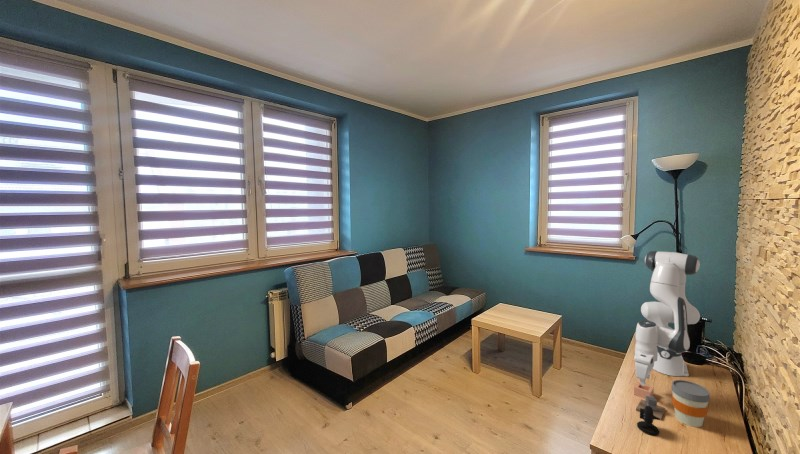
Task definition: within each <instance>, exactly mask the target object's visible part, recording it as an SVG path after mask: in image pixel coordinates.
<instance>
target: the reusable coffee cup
mask: <svg viewBox="0 0 800 454" xmlns="http://www.w3.org/2000/svg"><path fill="white" fill-rule="evenodd" d="M670 390H671V391H672V393H671V400H672V407H673V409H674V416H675V418H676V420H678V421H679V422H680V423H682V424H685V425H686V426H689V427H694V428H701V427H702V426H703V424H704V420H705V417H707V416H708V410H709V407H710V406H709V402H710V400H711V399H710V397H711V396H710V392H709V390H708V389H707V388H705V387H704V386H703V385H701V384H698V383H696V382H692V381H688V380H684V379H676V380H673V381H672V383H671V387H670Z"/></svg>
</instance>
